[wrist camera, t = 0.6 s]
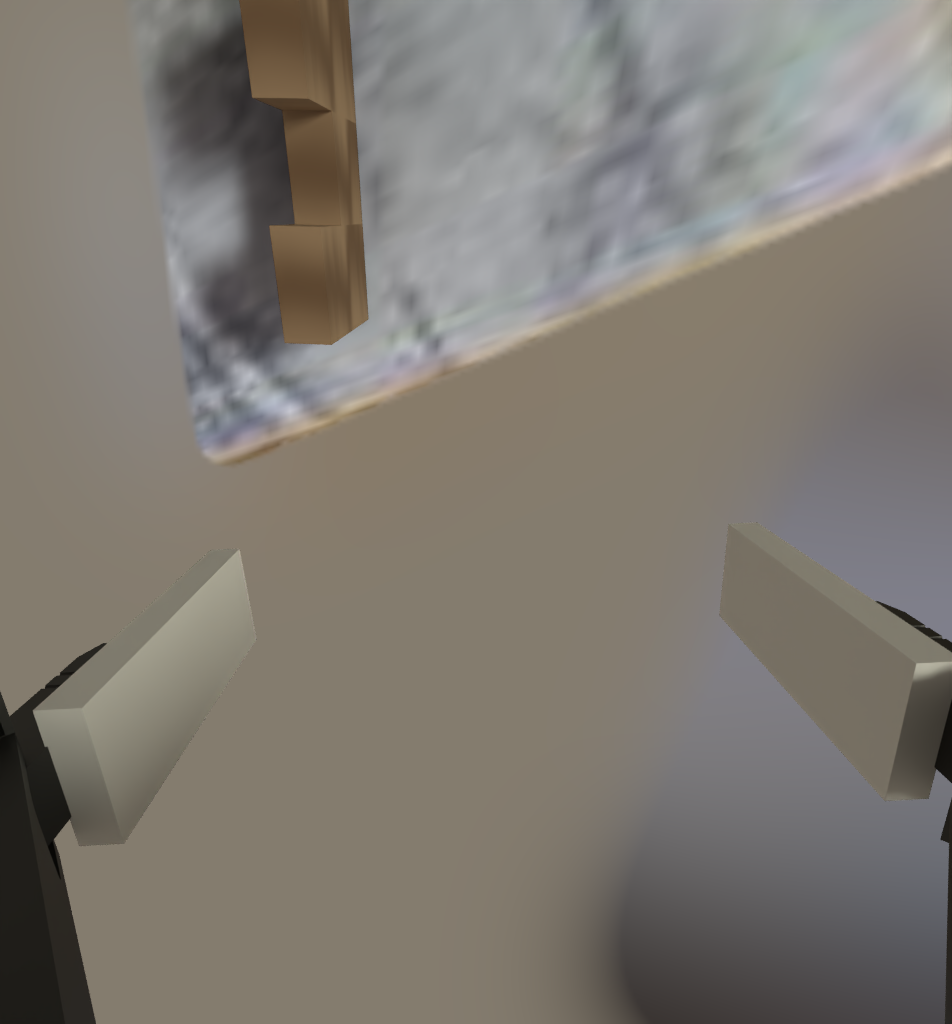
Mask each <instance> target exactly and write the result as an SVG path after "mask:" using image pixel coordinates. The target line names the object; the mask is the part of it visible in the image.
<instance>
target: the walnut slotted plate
mask: <svg viewBox="0 0 952 1024" xmlns="http://www.w3.org/2000/svg"><path fill="white" fill-rule="evenodd" d="M239 2H240V9H241V17H242V24H243V32H244V39H245V47H246V54H247V62H248V69H249V77H250V85H251V92H252V98H254V99H256V100H259V101H261V102H264V103H266V104H268V105H271V106H273V107H275V108H278V109H280V110H282V113H283V122H284V131H285V140H286V149H287V158H288V166H289V175H290V184H291V193H292V202H293V211H294V219H295V224H289V225H270V226H269V228H270V236H271V243H272V251H273V258H274V266H275V273H276V281H277V288H278V296H279V304H280V311H281V319H282V326H283V334H284V341H285V343H298V344H324V345H332V344H333V343H335V342H336V341H338V340H339V339H341V338H342V337H344V336H345V335H346V334H348V333H349V332H351V331H352V330H354V329H355V328H357V327H358V326H359V325H361V324H362V323H364V322H365V321H367V320H368V305H367V289H366V274H365V258H364V242H363V227H362V211H361V195H360V180H359V164H358V148H357V133H356V117H355V101H354V86H353V70H352V54H351V39H350V23H349V7H348V0H239Z"/></svg>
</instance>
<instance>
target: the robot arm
mask: <svg viewBox="0 0 952 1024" xmlns="http://www.w3.org/2000/svg"><path fill="white" fill-rule="evenodd" d="M719 615H720V616H721V618H722V619H723V620H724V621H725V622H726V623H727V624H728V626H729V627H730V628H731V629H732V630H733V631H734V632H735V633H736V634H737V636H738V637H739V638H740V639H741V640H742V641H743V642H744V644H745V645H746V646H747V647H748V648H749V649H750V650H751V651H752V652H753V654H754V655H755V656H756V657H757V658H758V659H759V660H760V661H761V662H762V664H763V665H764V666H765V667H766V668H767V669H768V670H769V671H770V673H771V674H772V675H773V676H774V677H775V678H776V679H777V681H778V682H779V683H780V684H781V685H782V686H783V687H784V688H785V690H786V691H787V692H788V693H789V694H790V695H791V696H792V697H793V698H794V700H795V701H796V702H797V703H798V704H799V705H800V706H801V707H802V709H803V710H804V711H805V712H806V713H807V714H808V715H809V716H810V717H811V719H812V720H813V721H814V722H815V723H816V724H817V725H818V727H819V728H820V729H821V730H822V731H823V732H824V733H825V734H826V735H827V737H828V738H829V739H830V740H831V741H832V742H833V743H834V744H835V746H836V747H837V748H838V749H839V750H840V751H841V752H842V753H843V755H844V756H845V757H846V758H847V759H848V760H849V761H850V762H851V763H852V765H853V766H854V767H855V768H856V769H857V770H858V771H859V773H860V774H861V775H862V776H863V777H864V778H865V779H866V780H867V781H868V783H869V784H870V785H871V786H872V787H873V788H874V789H875V790H876V792H877V793H878V794H879V795H880V796H881V797H882V798H883V799H884V800H885V801H893V800H911V799H928V798H929V795H930V791H931V787H932V783H933V780H934V776H935V771H936V769H937V770H938V771H939V772H941V774H942V775H944V776H945V777H946V778H947V779H948V780H949V781H950V782H951V783H952V642H950V641H949V640H947V639H942V636H941V635H939V634H938V633H936V632H934V631H933V630H931V629H930V628H925V625H924V624H922V623H921V622H919V621H918V620H916V619H915V618H913V617H911V616H910V615H908V614H907V613H905V612H903V611H900V610H898V609H896V608H893V607H891V606H888V605H886V604H883V603H881V602H878V601H874V600H872V599H870V598H869V597H868V596H866V595H864V594H863V593H862V592H860V591H859V590H857V589H856V588H854V587H853V586H851V585H850V584H848V583H847V582H845V581H844V580H842V579H841V578H839V577H838V576H836V575H835V574H833V573H832V572H830V571H829V570H827V569H826V568H824V567H823V566H821V565H820V564H818V563H817V562H815V561H813V560H812V559H811V558H809V557H808V556H806V555H805V554H803V553H802V552H800V551H799V550H797V549H796V548H794V547H793V546H791V545H790V544H788V543H787V542H785V541H783V540H782V539H781V538H779V537H778V536H776V535H775V534H773V533H772V532H770V531H769V530H767V529H766V528H764V527H763V526H761V525H760V524H758V523H738V524H729V526H728V534H727V544H726V555H725V565H724V574H723V584H722V594H721V604H720V614H719ZM255 641H256V634H255V629H254V623H253V618H252V613H251V608H250V603H249V597H248V591H247V586H246V581H245V575H244V570H243V565H242V560H241V554H240V549H224V550H210V551H209V552H208V553H207V554H206V555H205V556H204V557H202V558H201V559H200V560H199V561H198V562H197V563H196V564H195V565H194V566H193V567H191V568H190V569H189V570H188V571H187V572H186V573H185V574H184V575H183V576H181V577H180V578H179V579H178V580H177V581H176V582H175V583H174V584H173V585H172V586H170V587H169V588H168V589H167V590H166V591H165V592H164V593H163V594H161V595H160V596H159V597H158V598H157V599H156V600H155V601H154V602H153V603H151V604H150V605H149V606H148V607H147V608H146V609H145V610H144V611H143V612H141V614H139V615H138V616H137V617H136V618H135V619H134V620H133V621H132V622H130V623H129V624H128V625H127V626H126V627H125V628H124V629H123V630H122V631H120V632H119V633H118V634H117V635H116V636H115V637H114V638H113V639H112V640H110V641H109V642H108V643H103V644H101V645H99V646H97V647H95V648H94V649H92V650H90V651H88V652H86V653H85V654H83V655H81V656H79V657H78V658H76V659H75V660H74V661H73V662H72V663H71V664H70V665H68V667H66V668H65V669H64V670H63V671H62V672H60V676H56V677H55V678H53V679H52V680H51V681H50V682H49V683H48V684H47V685H46V686H45V689H41V690H40V691H38V692H37V694H35V695H34V696H33V697H32V698H30V699H29V700H28V701H27V702H26V703H25V704H24V705H22V706H21V707H20V708H19V709H18V710H17V711H15V712H14V713H13V714H12V715H11V716H10V717H9V714H8V712H7V709H6V706H5V703H4V700H3V698H2V695H1V692H0V1024H96V1021H95V1017H94V1013H93V1008H92V1004H91V998H90V994H89V989H88V985H87V980H86V975H85V971H84V966H83V962H82V958H81V953H80V948H79V943H78V939H77V934H76V929H75V925H74V920H73V916H72V911H71V906H70V902H69V897H68V893H67V888H66V883H65V879H64V875H63V870H62V865H61V860H60V856H59V853H58V850H57V847H56V844H55V842H54V838H55V837H56V836H57V834H58V833H59V832H60V831H61V829H62V828H63V827H64V826H65V824H66V823H67V822H68V821H69V819H70V821H71V824H72V827H73V829H74V833H75V836H76V838H77V841H78V844H79V846H89V845H106V844H107V845H108V844H124V843H125V842H126V840H127V839H128V837H129V835H130V834H131V832H132V831H133V829H134V828H135V826H136V825H137V823H138V821H139V820H140V818H141V817H142V815H143V814H144V812H145V811H146V809H147V808H148V806H149V805H150V803H151V802H152V800H153V798H154V797H155V795H156V794H157V792H158V791H159V789H160V788H161V786H162V784H163V783H164V781H165V780H166V778H167V777H168V775H169V774H170V772H171V771H172V769H173V768H174V766H175V765H176V763H177V761H178V760H179V758H180V757H181V755H182V754H183V752H184V750H185V749H186V747H187V746H188V744H189V743H190V741H191V740H192V738H193V737H194V735H195V734H196V732H197V731H198V729H199V727H200V726H201V724H202V723H203V721H204V720H205V718H206V717H207V715H208V714H209V712H210V711H211V709H212V707H213V706H214V704H215V703H216V701H217V700H218V698H219V697H220V695H221V694H222V692H223V690H224V689H225V687H226V686H227V684H228V683H229V681H230V680H231V678H232V677H233V675H234V673H235V672H236V670H237V669H238V667H239V666H240V664H241V663H242V661H243V660H244V658H245V656H246V655H247V653H248V652H249V650H250V649H251V647H252V646H253V644H254V643H255ZM941 840H943V841H945V842H948V843H949V873H948V874H949V875H948V917H947V958H946V1001H945V1024H952V800H951V803H950V807H949V810H948V814H947V817H946V821H945V825H944V828H943V832H942V836H941Z"/></svg>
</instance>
